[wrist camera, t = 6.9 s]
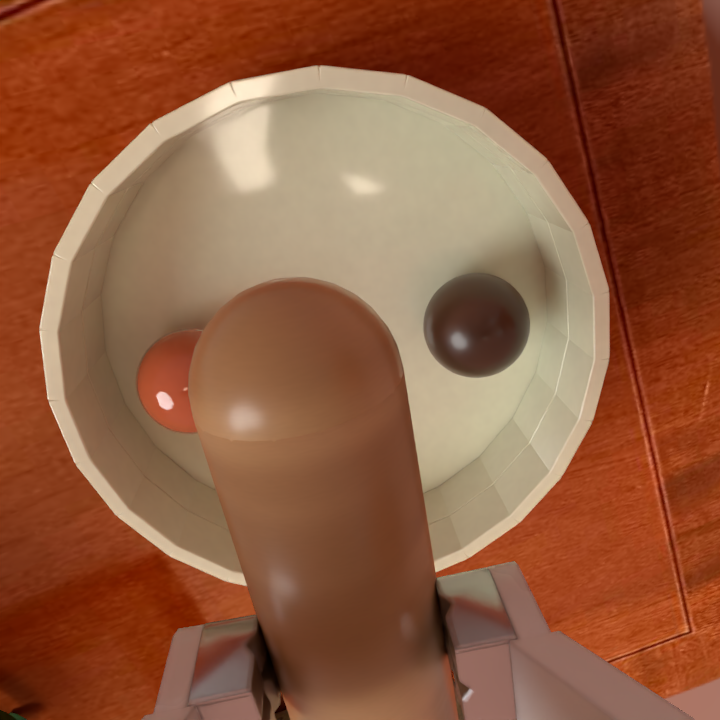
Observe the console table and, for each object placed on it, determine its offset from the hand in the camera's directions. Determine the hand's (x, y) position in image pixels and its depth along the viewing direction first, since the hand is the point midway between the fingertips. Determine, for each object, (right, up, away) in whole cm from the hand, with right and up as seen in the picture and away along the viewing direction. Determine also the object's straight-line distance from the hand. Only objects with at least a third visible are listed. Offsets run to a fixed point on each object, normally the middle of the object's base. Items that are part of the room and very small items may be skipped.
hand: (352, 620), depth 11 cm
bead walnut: (+5, +6, +12) cm, 14 cm away
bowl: (-1, +6, +14) cm, 15 cm away
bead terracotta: (-6, +4, +12) cm, 14 cm away
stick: (0, +1, +2) cm, 2 cm away
